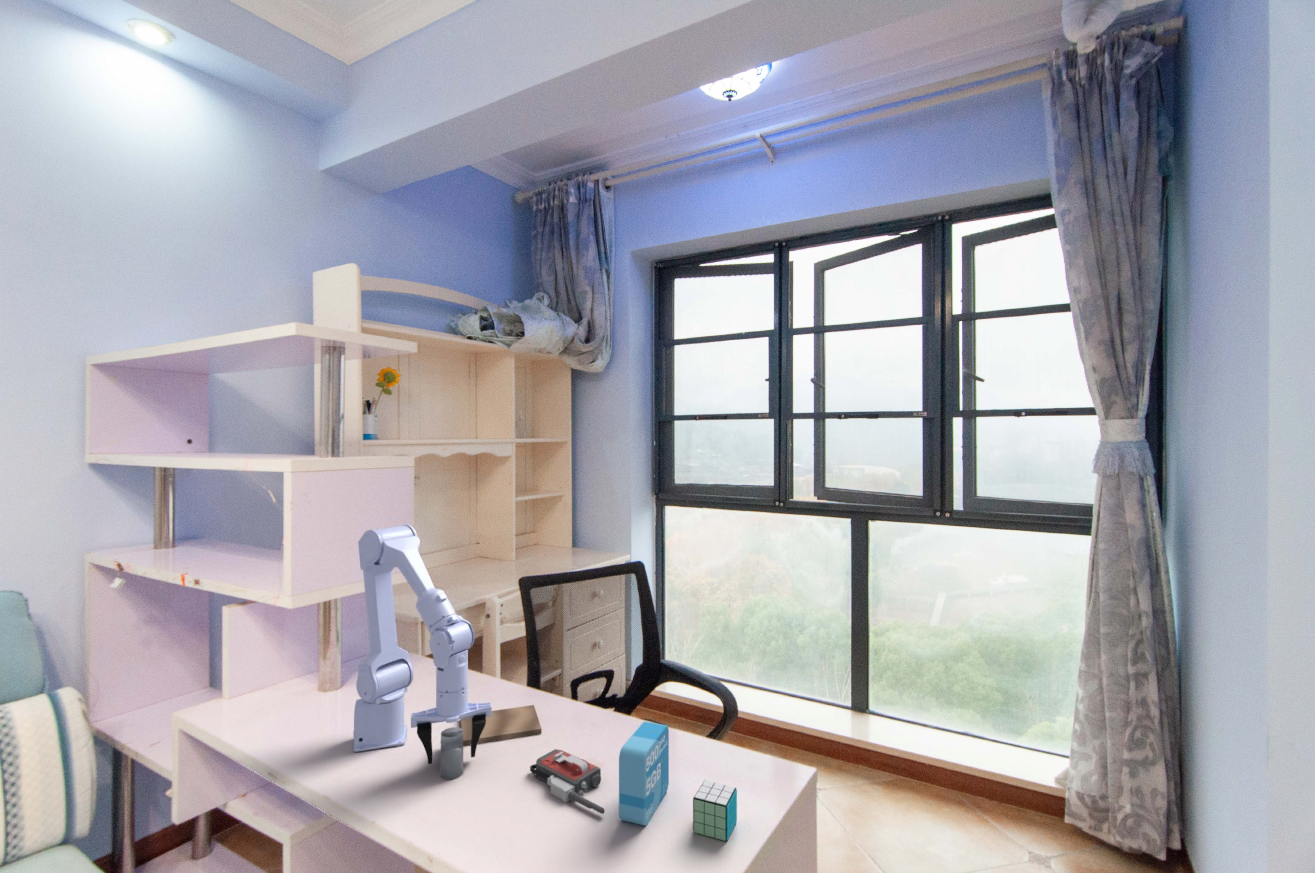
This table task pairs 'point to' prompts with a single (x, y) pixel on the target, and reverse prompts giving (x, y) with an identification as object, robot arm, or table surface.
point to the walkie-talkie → (568, 776)
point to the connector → (451, 753)
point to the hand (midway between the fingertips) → (451, 757)
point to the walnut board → (504, 725)
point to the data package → (643, 772)
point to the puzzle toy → (715, 810)
